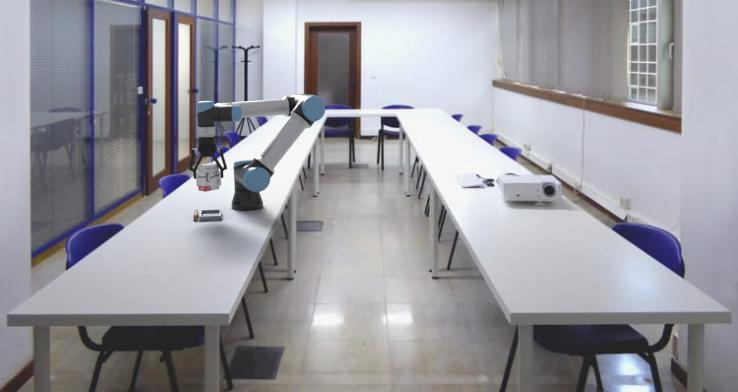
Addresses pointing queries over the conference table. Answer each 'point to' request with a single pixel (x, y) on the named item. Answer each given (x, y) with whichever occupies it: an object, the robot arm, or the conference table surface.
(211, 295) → the conference table surface
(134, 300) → the conference table surface
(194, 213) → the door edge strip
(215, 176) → the ink box
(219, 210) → the frame
